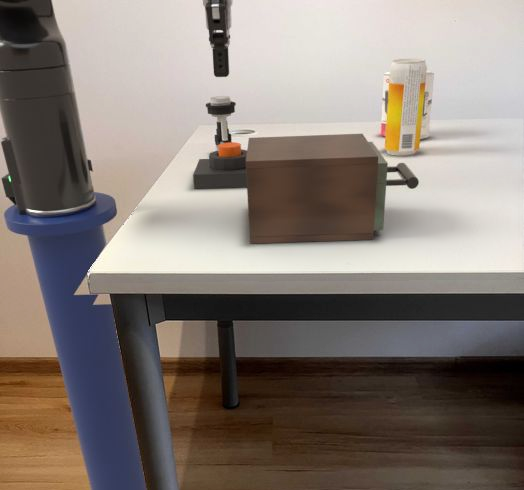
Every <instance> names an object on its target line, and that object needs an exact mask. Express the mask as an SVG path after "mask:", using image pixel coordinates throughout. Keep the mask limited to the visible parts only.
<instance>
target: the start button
mask: <svg viewBox="0 0 524 490" xmlns="http://www.w3.org/2000/svg"><path fill="white" fill-rule="evenodd" d="M241 149H242V144H241V143H240V142H233V141H231V142H228V143H222V144H219V145H218V154H219V156H221V157H234V156H240V155H241Z"/></svg>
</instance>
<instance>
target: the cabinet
mask: <svg viewBox="0 0 524 490" xmlns="http://www.w3.org/2000/svg"><path fill="white" fill-rule="evenodd" d="M369 142H370V141H369V140H368V139H367V138H366V137H365V135H364V133H342V134H339V133H337V134H316V135H314V134H313V135H311V134H310V135H291V136H290V135H287V136H262V137H258V136H257V137H248V141H247V149H246V150H247V156H246V176H247V187H246V195H247V213H248V215H247V216H248V232H249V233H248V234H249V245H250V244H251V245H252V244H280V243H308V242H310V243H311V242H313V243H314V242H341V241H342V242H343V241H370V240H371V241H373V240H374V236H375V235H374V232H375V230H374V219H375V203H376V187H377V171H378V155H377V154H376V153H375V151H374V150H373V148H372V147H371V145H370V144H369Z"/></svg>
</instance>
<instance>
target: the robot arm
mask: <svg viewBox="0 0 524 490" xmlns="http://www.w3.org/2000/svg"><path fill="white" fill-rule="evenodd" d="M202 5H203V7H204V12H205V26H206V27H205V28H206V29H207V30H208V36H209V37H208V42H209V45H210V47H211V50H212V65H213V76H214V77H216V78H227V77H229V75H230V57H229V55H230V53H229V48H230V45H231V35H230V29H231V28H232V27H233V21H232V6H233V5H234V2H233V0H202ZM217 31H218V32H217ZM74 83H75V82H74V78H73V73H72V67H71V64H70V57H69V51H68V46H67V42H66V40H65V38H64V36H63V34H62V32H61V29H60V27H59V24H58V20H57V17H56V13H55V9H54V4H53V0H0V117H1V122H2V125H3V129H4V133H5V136H3V137H2V138H1V139H0V145H1V149H2V153H3V156H4V161H5V164H6V169H7V174H5V175H4V176H2V177H1V184H2V186H3V191H4V194H5V198H8V200H10V202H12V204H13V205H14V204H15V205H17V208H18V212H19V215H29V216H33V217H41V218H53V217H63V216H69V215H74V214H78V213H81V212H84V211H86V210H89V209H91V208H92V207H94V206H95V205H96V198H95V195H94V192H95V191H94V186H93V182H92V176H91V172H94V170H93V163H92V159H91V160H90V159H88V154H87V148H86V143H85V142H86V141H85V138H84V132H83V127H82V122H81V116H80V110H79V104H78V100H77V95H76V88H75V84H74Z"/></svg>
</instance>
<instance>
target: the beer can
mask: <svg viewBox="0 0 524 490" xmlns="http://www.w3.org/2000/svg"><path fill="white" fill-rule="evenodd" d="M427 71H428V65H427V64H426V59H423V58H397V59H393V60H392V63H391V65H390V67H389V72H390V75H389V90H388V105H387V119H386V134H385V136H384V149H385V151H386V152H387V154H388V155H392V156H399V157H400V156H401V157H406V156H407V157H408V156H413V155H415V154H416V153H417V151H418V150H419V149H420V145H421V144H420V143H421V139H420V135H421V124H422V114H423V104H424V93H425V83H426V73H427Z"/></svg>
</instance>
